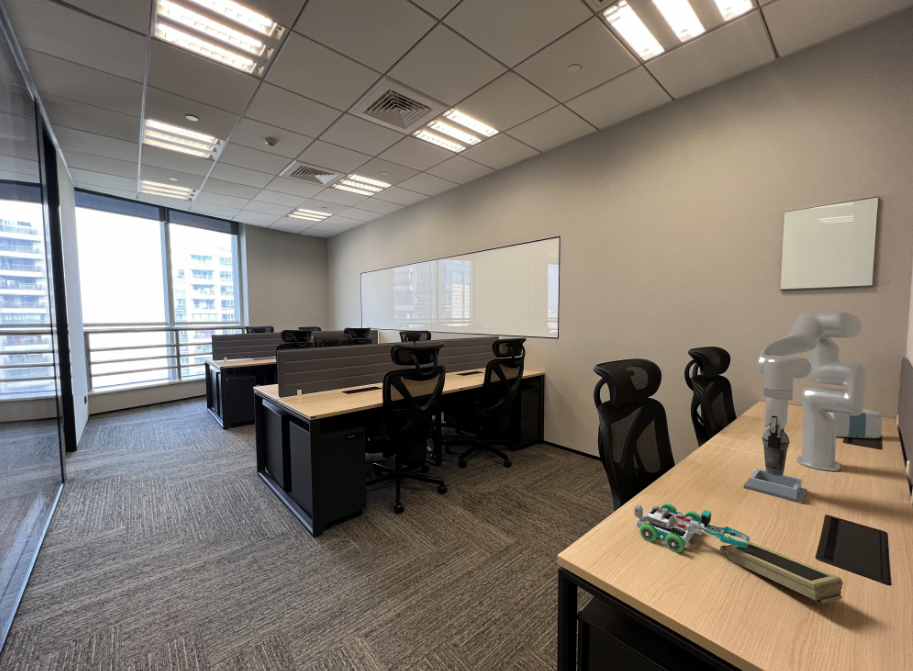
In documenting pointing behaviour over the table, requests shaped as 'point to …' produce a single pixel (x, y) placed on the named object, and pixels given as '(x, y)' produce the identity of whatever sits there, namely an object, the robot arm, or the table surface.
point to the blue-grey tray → (777, 486)
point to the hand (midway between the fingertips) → (776, 445)
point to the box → (787, 572)
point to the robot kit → (681, 527)
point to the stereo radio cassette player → (858, 424)
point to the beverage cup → (775, 454)
